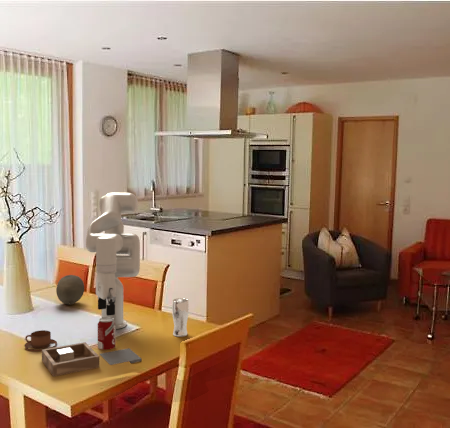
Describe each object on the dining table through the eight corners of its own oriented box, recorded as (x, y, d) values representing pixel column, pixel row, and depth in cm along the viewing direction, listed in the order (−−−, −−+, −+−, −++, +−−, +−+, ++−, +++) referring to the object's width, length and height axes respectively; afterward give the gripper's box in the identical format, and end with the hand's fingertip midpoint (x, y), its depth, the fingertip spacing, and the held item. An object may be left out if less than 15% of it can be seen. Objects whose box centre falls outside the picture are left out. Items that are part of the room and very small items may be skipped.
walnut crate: (41, 362, 188) (41, 349, 187) (85, 354, 196) (85, 342, 196) (53, 379, 174) (53, 365, 174) (99, 369, 183) (99, 356, 182)
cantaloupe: (50, 305, 260) (49, 275, 258) (72, 299, 271) (72, 271, 270) (68, 310, 252) (67, 280, 250) (90, 304, 263) (90, 275, 262)
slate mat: (99, 356, 195) (99, 353, 195) (129, 350, 201) (129, 348, 201) (110, 367, 185) (110, 364, 185) (141, 361, 191) (141, 358, 191)
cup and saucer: (22, 355, 195) (22, 339, 194) (26, 344, 206) (25, 329, 205) (56, 353, 198) (56, 337, 197) (57, 342, 209) (57, 327, 209)
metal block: (56, 360, 188) (56, 349, 187) (70, 357, 190) (70, 347, 190) (60, 365, 184) (59, 354, 183) (74, 362, 186) (73, 351, 186)
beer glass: (185, 337, 217) (186, 303, 215) (169, 336, 218) (170, 301, 217) (190, 332, 224) (190, 298, 222) (174, 331, 225) (175, 297, 224)
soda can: (100, 353, 198) (99, 322, 197) (95, 347, 204) (95, 317, 203) (117, 350, 201) (117, 320, 200) (112, 344, 207) (112, 315, 206)
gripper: (89, 265, 204) (89, 308, 206) (104, 273, 190) (104, 318, 191) (107, 264, 208) (107, 305, 210) (123, 271, 194) (123, 316, 195)
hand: (106, 311), depth 200 cm, fingers open, 9 cm apart
